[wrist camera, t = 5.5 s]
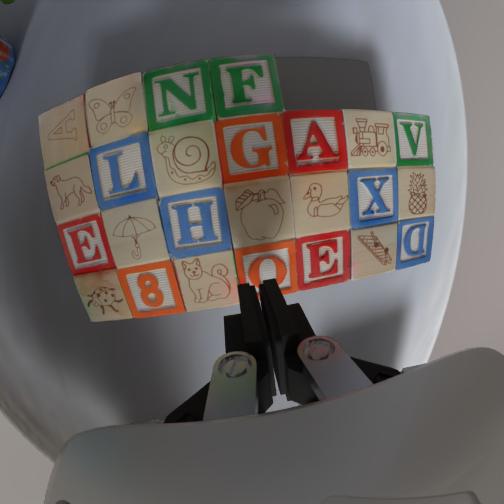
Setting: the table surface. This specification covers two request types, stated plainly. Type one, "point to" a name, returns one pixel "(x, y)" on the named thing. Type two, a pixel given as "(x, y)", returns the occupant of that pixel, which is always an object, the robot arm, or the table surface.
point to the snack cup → (5, 58)
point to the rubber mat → (325, 84)
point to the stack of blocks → (228, 189)
